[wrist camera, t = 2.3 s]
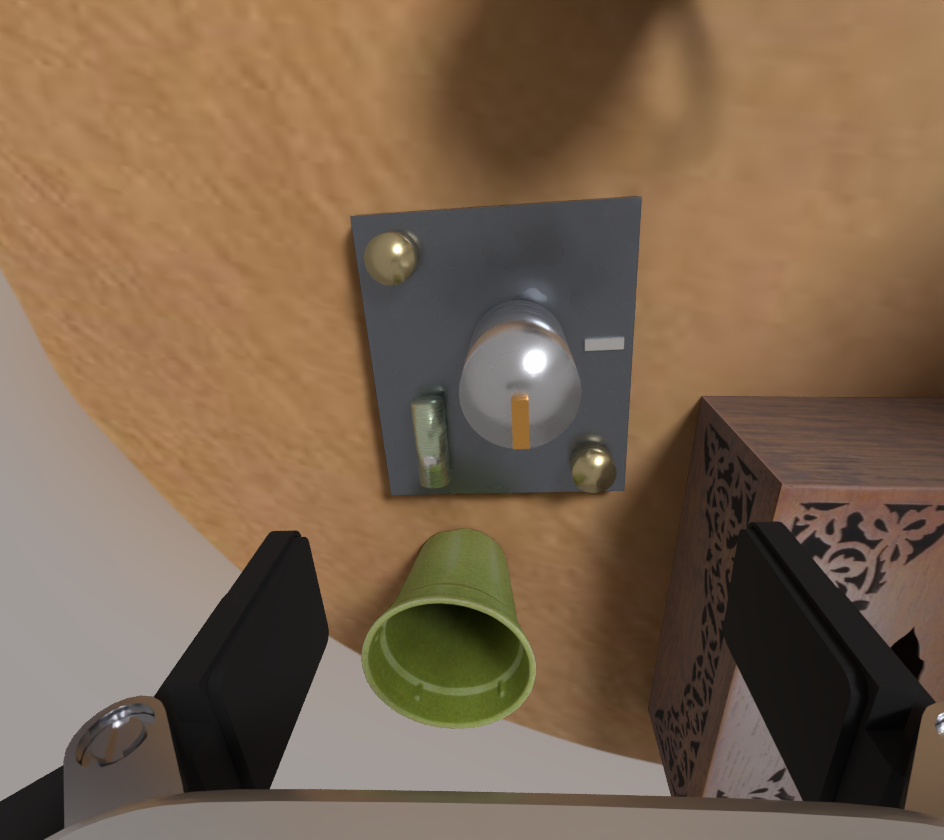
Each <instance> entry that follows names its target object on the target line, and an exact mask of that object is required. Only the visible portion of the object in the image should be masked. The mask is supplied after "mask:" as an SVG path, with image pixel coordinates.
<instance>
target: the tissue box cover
mask: <svg viewBox="0 0 944 840" xmlns="http://www.w3.org/2000/svg"><path fill="white" fill-rule="evenodd" d="M769 521H779V522H782V523H783V524H784V525H785V526H786V527H787V528H788V529H789V531H790V532H791V533H792V534H793V535H794V537H795V538H796V539H797V540H798V541H799V543H800V544H801V545H802V546H803V547H804V549H805V550H806V551H807V552H808V553H809V555H810V556H811V557H812V558H813V559H814V561H815V562H816V563H817V564H818V565H819V567H820V568H821V569H822V570H823V571H824V573H825V574H826V575H827V576H828V577H829V579H830V580H831V581H832V582H833V583H834V585H835V586H836V587H837V588H839V589H840V590H841V591H842V592H843V593H844V594H845V595H846V596H847V597H848V598H849V599H850V601H851V602H852V603H853V604H854V605H855V606H856V608H857V609H858V610H859V611H860V612H861V614H862V615H863V616H864V617H865V618H866V620H867V621H868V622H869V623H870V624H871V626H872V627H873V628H874V629H875V630H876V631H877V633H878V634H879V635H880V636H881V637H882V639H883V640H884V641H885V642H886V643H887V645H888V646H889V647H890V648H891V649H892V650H893V652H894V653H895V654H896V655H897V656H898V658H899V659H900V660H901V661H902V662H903V664H904V665H905V666H906V667H907V668H908V669H909V671H910V672H911V673H912V674H913V675H914V677H915V678H916V679H917V680H918V681H919V683H920V684H921V685H922V686H923V687H924V688H925V690H926V691H927V692H928V693H929V694H930V696H931V697H932V698H933V699H934V700H935V702H944V398H879V397H760V396H702V398H701V403H700V409H699V415H698V421H697V427H696V433H695V438H694V444H693V450H692V456H691V462H690V468H689V474H688V479H687V485H686V491H685V497H684V503H683V509H682V514H681V520H680V526H679V532H678V538H677V544H676V550H675V555H674V561H673V567H672V573H671V579H670V585H669V590H668V596H667V602H666V608H665V614H664V620H663V625H662V631H661V637H660V643H659V649H658V655H657V661H656V666H655V672H654V678H653V684H652V690H651V696H650V701H649V707H648V710H649V714H650V718H651V721H652V725H653V729H654V733H655V737H656V740H657V744H658V748H659V752H660V756H661V759H662V763H663V767H664V771H665V774H666V778H667V782H668V786H669V790H670V794H671V797H707V798H744V799H767V800H790V801H803V800H802V798H801V796H800V794H799V792H798V790H797V788H796V786H795V784H794V782H793V780H792V778H791V776H790V774H789V772H788V769H787V767H786V765H785V763H784V761H783V759H782V757H781V755H780V753H779V751H778V749H777V747H776V745H775V743H774V741H773V739H772V737H771V735H770V733H769V730H768V728H767V726H766V724H765V722H764V720H763V718H762V716H761V714H760V712H759V710H758V708H757V706H756V704H755V702H754V700H753V698H752V696H751V693H750V691H749V689H748V687H747V685H746V683H745V681H744V679H743V677H742V675H741V673H740V671H739V669H738V667H737V665H736V663H735V661H734V659H733V656H732V654H731V652H730V650H729V648H728V646H727V644H726V641H725V638H724V631H723V626H724V619H725V613H726V607H727V601H728V595H729V588H730V582H731V576H732V570H733V564H734V558H735V552H736V546H737V540H738V534H739V531H740V530H741V529H747V526H748V524H749V523H750V522H769Z"/></svg>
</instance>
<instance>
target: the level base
mask: <svg viewBox="0 0 944 840" xmlns="http://www.w3.org/2000/svg"><path fill="white" fill-rule="evenodd" d="M641 202H642V197H640V196H630V197H615V198H600V199H586V200H571V201H556V202H542V203H527V204H512V205H498V206H483V207H468V208H454V209H439V210H424V211H409V212H395V213H380V214H365V215H355V216H350V218H351V225H352V232H353V238H354V245H355V252H356V259H357V266H358V272H359V279H360V286H361V293H362V300H363V306H364V313H365V320H366V327H367V333H368V340H369V347H370V354H371V361H372V367H373V374H374V381H375V388H376V395H377V401H378V408H379V415H380V422H381V428H382V435H383V442H384V449H385V456H386V462H387V469H388V476H389V483H390V489H391V495H428V494H479V493H531V492H582V491H584V492H588V493H599V492H603V491H624V487H625V470H626V453H627V437H628V420H629V403H630V386H631V370H632V353H633V336H634V319H635V303H636V286H637V269H638V252H639V235H640V219H641ZM512 300H526V301H531V302H534V303H537V304H539V305H541V306H543V307H545V308H546V309H547V310H549V311H550V312H551V313H552V314H553V315H554V316H555V317H556V319H557V320H558V321H559V323H560V325H561V327H562V330H563V333H564V335H565V338H566V341H567V344H568V346H569V349H570V352H571V355H572V357H573V360H574V363H575V366H576V368H577V371H578V374H579V377H580V382H581V401H580V405H579V409H578V411H577V414H576V416H575V418H574V419H573V421H572V423H571V424H570V425H569V427H568V428H567V429H566V430H565V431H564V432H563V433H562V434H560V435H559V436H558V437H557V438H555V439H553V440H552V441H550V442H548V443H546V444H543V445H540V446H537V447H533V448H530V449H512V448H506V447H502V446H498V445H496V444H493V443H491V442H489V441H488V440H486V439H484V438H483V437H482V436H480V435H479V434H478V433H477V432H476V431H475V430H474V429H473V428H472V427H471V426H470V424H469V423H468V421H467V420H466V418H465V416H464V414H463V412H462V409H461V405H460V400H459V385H460V380H461V376H462V372H463V368H464V365H465V361H466V357H467V353H468V350H469V346H470V342H471V338H472V335H473V331H474V329H475V326H476V325H477V323H478V321H479V320H480V319H481V317H482V316H483V315H484V314H485V313H486V312H487V311H489V310H490V309H491V308H493V307H494V306H496V305H498V304H501V303H503V302H507V301H512Z"/></svg>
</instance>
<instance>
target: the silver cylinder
mask: <svg viewBox="0 0 944 840" xmlns="http://www.w3.org/2000/svg"><path fill="white" fill-rule="evenodd" d="M459 400H460V405H461V409H462V412H463V414H464V416H465V418H466V420H467V421H468V423H469V424H470V426H471V427H472V428H473V429H474V430H475V431H476V432H477V433H478V434H479V435H480V436H482V437H483V438H484V439H486V440H488V441H489V442H491V443H493V444H496V445H498V446H502V447H506V448H512V449H530V448H533V447H537V446H540V445H543V444H546V443H548V442H550V441H552V440H553V439H555V438H557V437H558V436H559V435H560V434H562V433H563V432H564V431H565V430H566V429H567V428H568V427H569V425H570V424H571V423H572V421H573V419H574V418H575V416H576V414H577V411H578V409H579V405H580V401H581V382H580V377H579V374H578V371H577V368H576V366H575V363H574V360H573V357H572V355H571V352H570V349H569V346H568V344H567V341H566V338H565V335H564V333H563V330H562V327H561V325H560V323H559V321H558V320H557V319H556V317H555V316H554V315H553V314H552V313H551V312H550V311H549V310H547V309H546V308H545V307H543V306H541V305H539V304H537V303H534V302H531V301H526V300H512V301H507V302H503V303H501V304H498V305H496V306H494V307H493V308H491V309H490V310H489V311H487V312H486V313H485V314H484V315H483V316H482V317H481V319H480V320H479V321H478V323H477V325H476V326H475V329H474V331H473V335H472V338H471V342H470V346H469V350H468V353H467V357H466V361H465V365H464V368H463V372H462V376H461V380H460V385H459Z"/></svg>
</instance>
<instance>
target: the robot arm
mask: <svg viewBox="0 0 944 840" xmlns="http://www.w3.org/2000/svg"><path fill="white" fill-rule="evenodd" d="M723 631H724V638H725V641H726V644H727V646H728V648H729V650H730V652H731V654H732V656H733V659H734V661H735V663H736V665H737V667H738V669H739V671H740V673H741V675H742V677H743V679H744V681H745V683H746V685H747V687H748V689H749V691H750V693H751V696H752V698H753V700H754V702H755V704H756V706H757V708H758V710H759V712H760V714H761V716H762V718H763V720H764V722H765V724H766V726H767V728H768V730H769V733H770V735H771V737H772V739H773V741H774V743H775V745H776V747H777V749H778V751H779V753H780V755H781V757H782V759H783V761H784V763H785V765H786V767H787V769H788V772H789V774H790V776H791V778H792V780H793V782H794V784H795V786H796V788H797V790H798V792H799V794H800V796H801V798H802V800H803V801H790V800H767V799H744V798H707V797H671V796H633V795H596V794H595V795H594V794H593V795H591V794H551V793H504V792H503V793H502V792H456V791H397V790H394V791H393V790H330V789H270V787H271V784H272V782H273V779H274V777H275V774H276V771H277V769H278V767H279V764H280V761H281V759H282V756H283V754H284V751H285V749H286V746H287V744H288V741H289V739H290V736H291V734H292V731H293V729H294V726H295V724H296V721H297V719H298V716H299V714H300V711H301V708H302V706H303V703H304V701H305V698H306V695H307V693H308V691H309V688H310V686H311V683H312V681H313V678H314V676H315V673H316V670H317V668H318V665H319V663H320V660H321V658H322V655H323V653H324V650H325V648H326V645H327V642H328V635H329V629H328V623H327V619H326V615H325V610H324V606H323V602H322V597H321V593H320V588H319V584H318V580H317V575H316V571H315V566H314V562H313V558H312V553H311V549H310V545H309V541H308V539H307V538H306V537H301V534H300V533H299V532H298V531H272V532H270V533H269V534H268V535H267V537H266V538H265V540H264V541H263V543H262V544H261V546H260V547H259V548H258V550H257V551H256V553H255V554H254V556H253V557H252V559H251V560H250V561H249V563H248V564H247V566H246V567H245V569H244V570H243V572H242V573H241V574H240V576H239V577H238V579H237V580H236V582H235V583H234V584H233V586H232V587H231V589H230V590H229V592H228V593H227V594H226V595H225V596H224V597H223V598H222V600H221V601H220V602H219V604H218V605H217V607H216V608H215V610H214V611H213V612H212V614H211V615H210V617H209V618H208V620H207V621H206V623H205V624H204V625H203V627H202V628H201V630H200V631H199V632H198V634H197V635H196V637H195V638H194V640H193V641H192V643H191V644H190V645H189V647H188V648H187V650H186V651H185V653H184V654H183V655H182V657H181V658H180V660H179V661H178V663H177V664H176V666H175V667H174V668H173V670H172V671H171V673H170V674H169V676H168V677H167V678H166V680H165V681H164V683H163V684H162V686H161V687H160V688H159V690H158V691H157V693H156V694H155V696H154V697H152V696H136V697H131V698H127V699H124V700H121V701H119V702H116V703H114V704H112V705H110V706H109V707H107V708H105V709H103V710H102V711H100V712H98V713H97V714H96V715H95V716H93V717H92V718H91V719H90V720H89V721H87V722H86V723H85V724H84V725H83V726H82V727H81V728H80V729H79V731H78V732H77V733H76V734H75V735H74V736H73V738H72V740H71V742H70V743H69V745H68V747H67V749H66V752H65V757H64V761H63V763H64V765H63V766H61V767H59V768H58V769H56V770H55V771H52V772H51V773H49V774H47V775H45V776H44V777H42V778H40V779H39V780H37V781H35V782H34V783H32V784H30V785H28V786H27V787H25V788H23V789H21V790H20V791H18V792H16V793H15V794H13V795H11V796H9V797H7V798H6V799H4V800H2V801H0V840H944V702H935V700H934V699H933V698H932V697H931V696H930V694H929V693H928V692H927V691H926V690H925V688H924V687H923V686H922V685H921V684H920V683H919V681H918V680H917V679H916V678H915V677H914V675H913V674H912V673H911V672H910V671H909V669H908V668H907V667H906V666H905V665H904V664H903V662H902V661H901V660H900V659H899V658H898V656H897V655H896V654H895V653H894V652H893V650H892V649H891V648H890V647H889V646H888V645H887V643H886V642H885V641H884V640H883V639H882V637H881V636H880V635H879V634H878V633H877V631H876V630H875V629H874V628H873V627H872V626H871V624H870V623H869V622H868V621H867V620H866V618H865V617H864V616H863V615H862V614H861V612H860V611H859V610H858V609H857V608H856V606H855V605H854V604H853V603H852V602H851V601H850V599H849V598H848V597H847V596H846V595H845V594H844V593H843V592H842V591H841V590H840V589H839V588H837V587H836V586H835V585H834V583H833V582H832V581H831V580H830V579H829V577H828V576H827V575H826V574H825V573H824V571H823V570H822V569H821V568H820V567H819V565H818V564H817V563H816V562H815V561H814V559H813V558H812V557H811V556H810V555H809V553H808V552H807V551H806V550H805V549H804V547H803V546H802V545H801V544H800V543H799V541H798V540H797V539H796V538H795V537H794V535H793V534H792V533H791V532H790V531H789V529H788V528H787V527H786V526H785V525H784V524H783V523H782V522H779V521H769V522H750V523H749V524H748V526H747V529H741V530H740V531H739V534H738V540H737V546H736V552H735V558H734V564H733V570H732V576H731V582H730V588H729V595H728V601H727V607H726V613H725V619H724V626H723Z"/></svg>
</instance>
